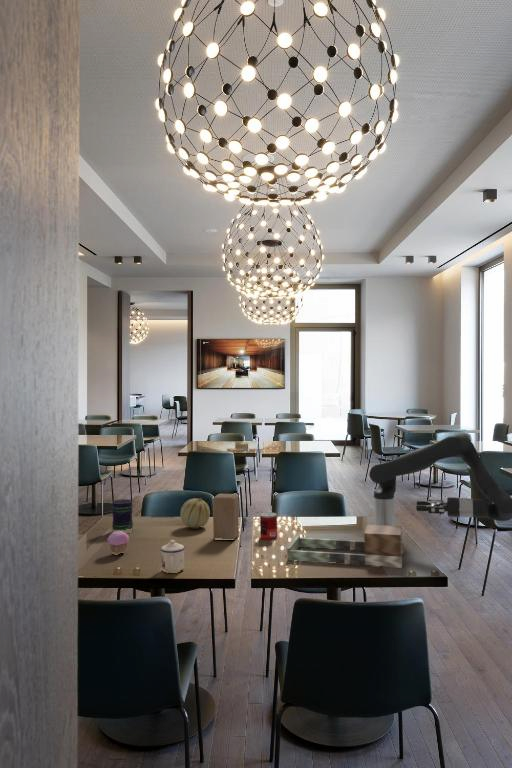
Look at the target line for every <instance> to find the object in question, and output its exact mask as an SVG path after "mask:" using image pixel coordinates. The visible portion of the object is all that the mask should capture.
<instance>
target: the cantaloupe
mask: <svg viewBox="0 0 512 768" xmlns="http://www.w3.org/2000/svg"><path fill="white" fill-rule="evenodd" d="M210 516H211V510H210V506H209V504H208V503H207V501H205V500H203V498H202V497H200V498H197V497H196V498H195V497H194V498H190V499H188V500H186V501H185V502H184V504H182V506H181V509H180V519H181V522H182V523H183V524H184V525H185V526H187V527H188V526H189V527H188V528H190V527H201V526H203V527H204V526H206V525H207V523H208V522H209V520H210ZM201 528H202V527H201Z"/></svg>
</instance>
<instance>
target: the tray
mask: <svg viewBox="0 0 512 768" xmlns="http://www.w3.org/2000/svg"><path fill="white" fill-rule="evenodd" d="M299 547H315V548H314V549H316V548H333V549H334V548H335V549H345V550H344V551H351V550H359V551H358V552H365V543H364V540H351V539H350V540H347V539H333V538H332V539H331V538H311V537H301V535H300V534H299V535H298V534H297V535H296V536H295V537H294V539H293V540H292V541H291V543H290V544H289V545H288V547H287V548H286V550H287V552H286V553H287V554H286V559H287V560H297V561H296V562H302V561H317V562H336V563H345V564H344V565H349V564H359V565H358V566H364V565H376V566H375V567H380V566H385V568H397V569H399V568H400V569H401V568H403V556H402V557H399V556H382V555H365V553H364V554H362V553H345V552H328V551H311V550H299V549H300V548H299ZM298 548H299V549H298ZM333 549H332V550H333ZM402 554H404V543H403V542H402ZM317 562H316V563H317Z"/></svg>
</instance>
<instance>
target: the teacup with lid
mask: <svg viewBox="0 0 512 768" xmlns="http://www.w3.org/2000/svg"><path fill="white" fill-rule="evenodd" d="M160 551H161V570H162V569H165V570H180V569H182V568H184V569H185V546H184V545H183V544H181V543H178V542H176V540H175V539H171V540H169V542H168V543H167V544H164V545H162V546H161V547H160Z"/></svg>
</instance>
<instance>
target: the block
mask: <svg viewBox="0 0 512 768" xmlns="http://www.w3.org/2000/svg"><path fill="white" fill-rule="evenodd" d="M212 521H213V522H212V524H213V525H212V526H213V539H214V538H222V539H235V538H236V537H237V536H238V537H239V534H240V531H239V529H240V528H239V526H240V523H239V495H238V494H237V493H218V494H217V495H215V496H213V498H212ZM238 537H237V538H238ZM237 538H236V539H237ZM236 539H235V540H236Z"/></svg>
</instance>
